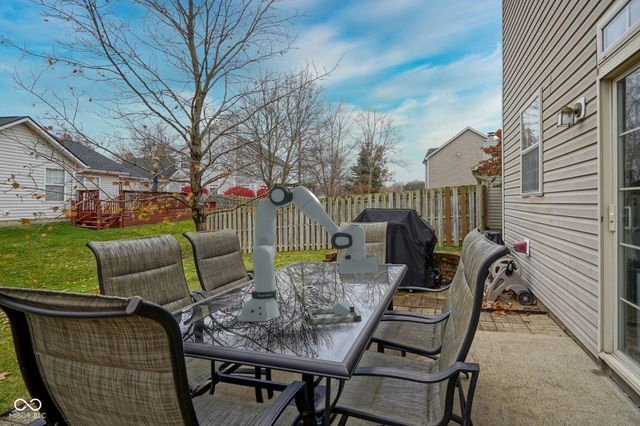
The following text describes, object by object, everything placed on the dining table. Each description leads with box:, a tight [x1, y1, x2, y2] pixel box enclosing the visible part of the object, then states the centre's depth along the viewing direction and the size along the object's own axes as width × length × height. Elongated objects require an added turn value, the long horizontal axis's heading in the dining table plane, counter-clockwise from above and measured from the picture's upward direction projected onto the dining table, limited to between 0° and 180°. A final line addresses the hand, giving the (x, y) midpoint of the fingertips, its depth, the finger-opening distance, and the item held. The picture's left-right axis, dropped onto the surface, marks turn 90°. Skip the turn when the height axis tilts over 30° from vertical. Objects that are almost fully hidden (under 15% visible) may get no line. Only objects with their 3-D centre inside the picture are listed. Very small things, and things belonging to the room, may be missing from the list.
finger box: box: [308, 306, 362, 325], centre depth 182 cm, size 25×19×3 cm
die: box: [331, 300, 350, 317], centre depth 182 cm, size 8×9×10 cm
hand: (359, 281), depth 184 cm, fingers closed
